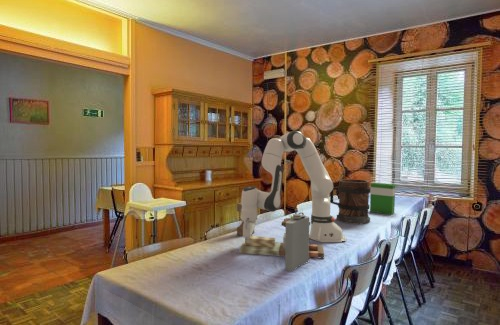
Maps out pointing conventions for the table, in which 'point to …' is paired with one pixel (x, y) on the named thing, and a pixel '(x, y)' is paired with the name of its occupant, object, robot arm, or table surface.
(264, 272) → the table surface
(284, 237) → the tunnel
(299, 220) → the flask
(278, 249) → the track deck
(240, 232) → the decorative block
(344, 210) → the wooden tankard
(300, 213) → the plant
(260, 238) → the birch bar
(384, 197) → the hardback book
